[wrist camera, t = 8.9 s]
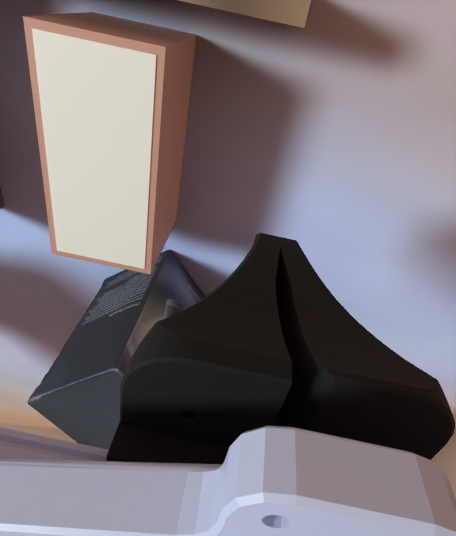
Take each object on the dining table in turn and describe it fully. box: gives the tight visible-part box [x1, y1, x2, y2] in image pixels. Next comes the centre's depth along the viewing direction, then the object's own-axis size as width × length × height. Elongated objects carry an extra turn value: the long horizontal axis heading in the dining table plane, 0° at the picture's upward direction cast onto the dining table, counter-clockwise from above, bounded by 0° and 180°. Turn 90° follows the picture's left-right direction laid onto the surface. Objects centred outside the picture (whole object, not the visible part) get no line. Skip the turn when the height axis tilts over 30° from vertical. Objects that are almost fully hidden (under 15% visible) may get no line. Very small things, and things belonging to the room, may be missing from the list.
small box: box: [28, 250, 205, 450], centre depth 24 cm, size 11×6×10 cm, turn 30°
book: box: [23, 12, 197, 274], centre depth 18 cm, size 5×10×6 cm, turn 170°
